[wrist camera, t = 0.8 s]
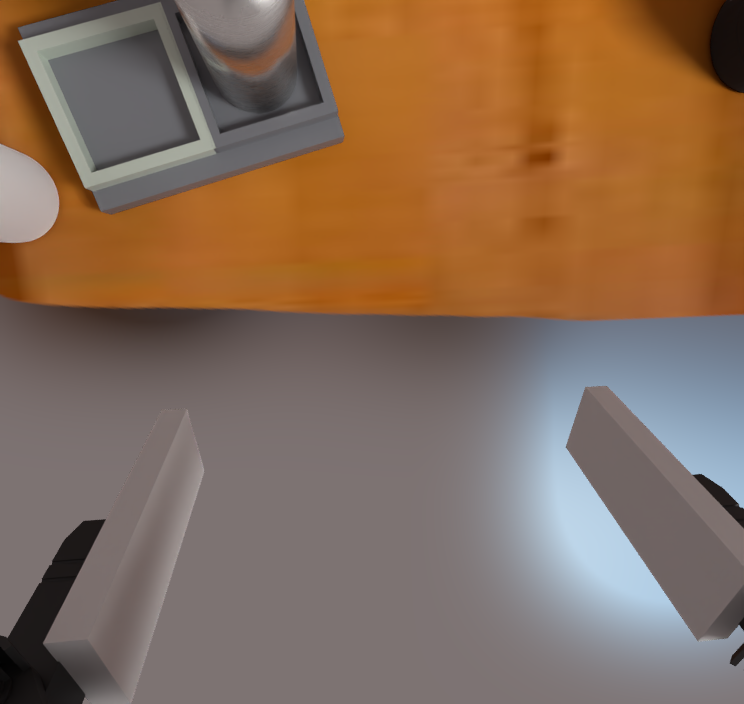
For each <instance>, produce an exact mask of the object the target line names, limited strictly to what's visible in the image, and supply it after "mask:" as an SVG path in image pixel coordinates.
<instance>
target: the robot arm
mask: <svg viewBox="0 0 744 704" xmlns="http://www.w3.org/2000/svg"><path fill="white" fill-rule="evenodd" d="M566 448H567V449H568V451H569V452H570V454H571V455H572V457H573V458H574V460H575V461H576V463H577V464H578V466H579V467H580V469H581V470H582V472H583V473H584V474H585V476H586V477H587V479H588V480H589V482H590V483H591V485H592V486H593V488H594V489H595V491H596V492H597V494H598V495H599V497H600V498H601V499H602V501H603V502H604V504H605V505H606V507H607V508H608V510H609V511H610V513H611V514H612V516H613V517H614V519H615V520H616V521H617V523H618V525H619V526H620V527H621V529H622V530H623V532H624V533H625V535H626V536H627V537H628V539H629V541H630V542H631V544H632V545H633V547H634V548H635V549H636V551H637V552H638V554H639V555H640V557H641V558H642V560H643V561H644V562H645V564H646V566H647V567H648V569H649V570H650V572H651V573H652V575H653V576H654V577H655V579H656V580H657V582H658V583H659V584H660V586H661V588H662V589H663V591H664V592H665V594H666V595H667V597H668V598H669V600H670V601H671V602H672V604H673V605H674V607H675V608H676V610H677V611H678V613H679V614H680V616H681V617H682V619H683V620H684V621H685V623H686V624H687V626H688V628H689V629H690V630H691V632H692V633H693V635H694V636H695V638H696V639H697V641H706V640H716V639H724V638H728V637H729V636H730V635H731V633H732V632H733V631H734V630H735V628H737V627H738V625H740V626H741V628H742V629H743V630H744V509H743V508H740V507H739V504H738V503H737V502H736V501H735V500H734V499H733V498H732V497H731V496H730V495H729V494H728V493H727V492H726V491H725V490H724V489H723V488H722V487H720V486H719V485H717V484H716V483H714V482H713V481H711V480H710V479H708V478H707V477H705V476H704V475H702V474H697V475H691V473H690V472H689V471H688V470H687V469H686V468H685V467H684V466H683V465H682V464H681V463H680V462H679V461H678V460H677V459H676V458H675V457H674V455H672V453H671V452H670V451H669V450H668V449H667V448H666V447H665V446H664V445H663V444H662V443H661V442H660V441H659V440H658V439H657V438H656V437H655V436H654V435H653V434H652V433H651V432H650V430H649V429H648V428H646V426H645V425H644V424H643V423H642V422H641V421H640V420H639V419H638V418H637V417H636V416H635V415H634V414H633V413H632V412H631V411H630V410H629V409H628V408H627V407H626V405H625V404H624V403H623V402H622V401H621V400H620V399H619V398H618V397H617V396H616V395H615V394H614V393H613V392H612V391H611V390H610V389H609V388H608V387H607V386H598V387H585V390H584V393H583V396H582V399H581V402H580V405H579V408H578V412H577V414H576V417H575V421H574V424H573V427H572V430H571V433H570V436H569V439H568V442H567V445H566ZM203 473H204V468H203V464H202V461H201V457H200V454H199V450H198V446H197V443H196V439H195V436H194V432H193V429H192V425H191V421H190V418H189V414H188V411H187V409H173V410H162V411H161V412H160V415H159V417H158V418H157V420H156V422H155V424H154V426H153V428H152V430H151V432H150V434H149V436H148V438H147V440H146V442H145V444H144V446H143V448H142V450H141V452H140V454H139V456H138V458H137V460H136V462H135V463H134V465H133V467H132V469H131V471H130V473H129V475H128V477H127V479H126V481H125V483H124V485H123V487H122V489H121V491H120V493H119V495H118V497H117V499H116V501H115V503H114V505H113V507H112V509H111V511H110V513H109V515H108V517H107V519H105V520H91V521H83V522H82V523H81V524H80V525H79V526H78V527H77V528H76V529H75V530H74V531H73V532H72V533H71V534H70V535H69V536H68V537H67V538H66V539H65V540H64V542H63V543H62V545H61V547H60V548H59V550H58V552H57V554H56V555H55V557H54V559H53V561H52V565H50V566H49V568H48V569H47V571H46V573H45V574H44V576H43V578H42V582H41V583H39V585H38V586H37V588H36V590H35V592H34V593H33V595H32V597H31V599H30V601H29V602H28V604H27V605H26V607H25V609H24V611H23V612H22V614H21V616H20V618H19V619H18V621H17V623H16V625H15V626H14V628H13V630H12V631H11V633H10V635H9V637H8V638H6V637H4V636H0V704H82V702H83V700H84V697H86V699H87V700H88V701H89V702H90V703H91V704H131V703H132V699H133V696H134V693H135V690H136V686H137V683H138V680H139V677H140V674H141V670H142V667H143V664H144V661H145V658H146V655H147V652H148V648H149V645H150V642H151V639H152V636H153V633H154V629H155V626H156V623H157V620H158V617H159V614H160V610H161V607H162V604H163V601H164V598H165V595H166V591H167V588H168V585H169V582H170V579H171V575H172V572H173V569H174V566H175V563H176V559H177V556H178V553H179V550H180V547H181V544H182V540H183V537H184V534H185V531H186V527H187V525H188V521H189V518H190V515H191V512H192V509H193V505H194V502H195V499H196V496H197V493H198V489H199V486H200V483H201V480H202V477H203ZM743 658H744V644H742V645H741V646H740V648H739V649H738V650H737V651H736V652H735V653H734V654H733V655H732V658H731V661H730V664H732V665H734V666H736V665H737V664H738V663H739V662H740V661H741V660H742V659H743Z"/></svg>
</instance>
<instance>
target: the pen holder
mask: <svg viewBox="0 0 744 704" xmlns="http://www.w3.org/2000/svg"><path fill="white" fill-rule="evenodd" d="M711 57H712V61H713V65H714V68H715V70H716V72H717V74H718V75H719V77H720V78H721V80H722V81H723V82H724V83H725V84H726V85H727V86H729V87H730V88H732V89H734V90H737V91H739V92H743V93H744V0H726V2H725V3H724V5H723V6H722V8H721V10H720V12H719V14H718V16H717V18H716V20H715V23H714V26H713V30H712V35H711Z"/></svg>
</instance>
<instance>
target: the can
mask: <svg viewBox="0 0 744 704" xmlns="http://www.w3.org/2000/svg"><path fill="white" fill-rule="evenodd" d="M58 211H59V196H58V192H57V189H56V186H55V184H54V182H53V180H52V178H51V177H50V175H49V174H48V172H47V171H46V170H45V169H44V168H43V167H42V166H41V165H40V164H39V163H38V162H36V161H35V160H34V159H32V158H30V157H29V156H27V155H25V154H23V153H21V152H18V151H16V150H14V149H11V148H9V147H7V146H4V145H2V144H0V242H8V243H22V242H29V241H33V240H35V239H37V238H39V237H41V236H43V235H44V234H45V233H47V232H48V231H49V230H50V228H51V227H52V226H53V224H54V222H55V220H56V218H57V215H58Z"/></svg>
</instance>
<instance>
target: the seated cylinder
mask: <svg viewBox="0 0 744 704" xmlns="http://www.w3.org/2000/svg"><path fill="white" fill-rule="evenodd" d="M174 1H175V3H176V5H177V7H178V9H179V11H180V13H181V15H182V17H183V19H184V21H185V23H186V25H187V27H188V30H189V32H190V34H191V36H192V38H193V40H194V42H195V44H196V46H197V48H198V50H199V52H200V54H201V56H202V58H203V60H204V62H205V64H206V66H207V68H208V70H209V72H210V74H211V77H212V79H213V81H214V83H215V85H216V86H217V88H218V90H219V91H220V93H221V94H222V96H223V97H224V98H225V99H226V100H227V101H228V102H230V103H231V104H232V105H233V106H235V107H237V108H238V109H241V110H243V111H246V112H249V113H256V114H261V113H268V112H271V111H274V110H276V109H278V108H279V107H281V106H282V105H283V104H284V103H285V102H286V101H287V100H288V99H289V98H290V96H291V94H292V93H293V91H294V88H295V85H296V81H297V53H296V30H295V7H294V0H174Z"/></svg>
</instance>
